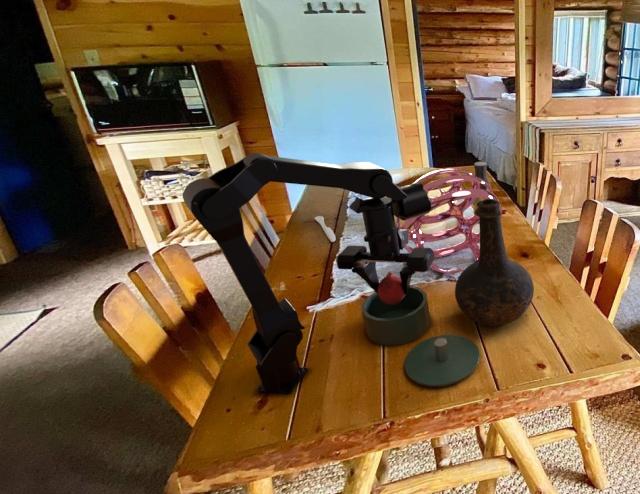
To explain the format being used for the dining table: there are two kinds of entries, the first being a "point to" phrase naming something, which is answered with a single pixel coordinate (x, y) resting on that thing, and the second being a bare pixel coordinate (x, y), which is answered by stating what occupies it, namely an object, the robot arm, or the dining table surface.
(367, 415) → the dining table surface
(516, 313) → the glass bottle
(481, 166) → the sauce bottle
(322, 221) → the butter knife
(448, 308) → the dining table surface
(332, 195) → the dining table surface
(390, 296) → the onion
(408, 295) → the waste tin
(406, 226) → the pink openwork sphere
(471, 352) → the tin lid
